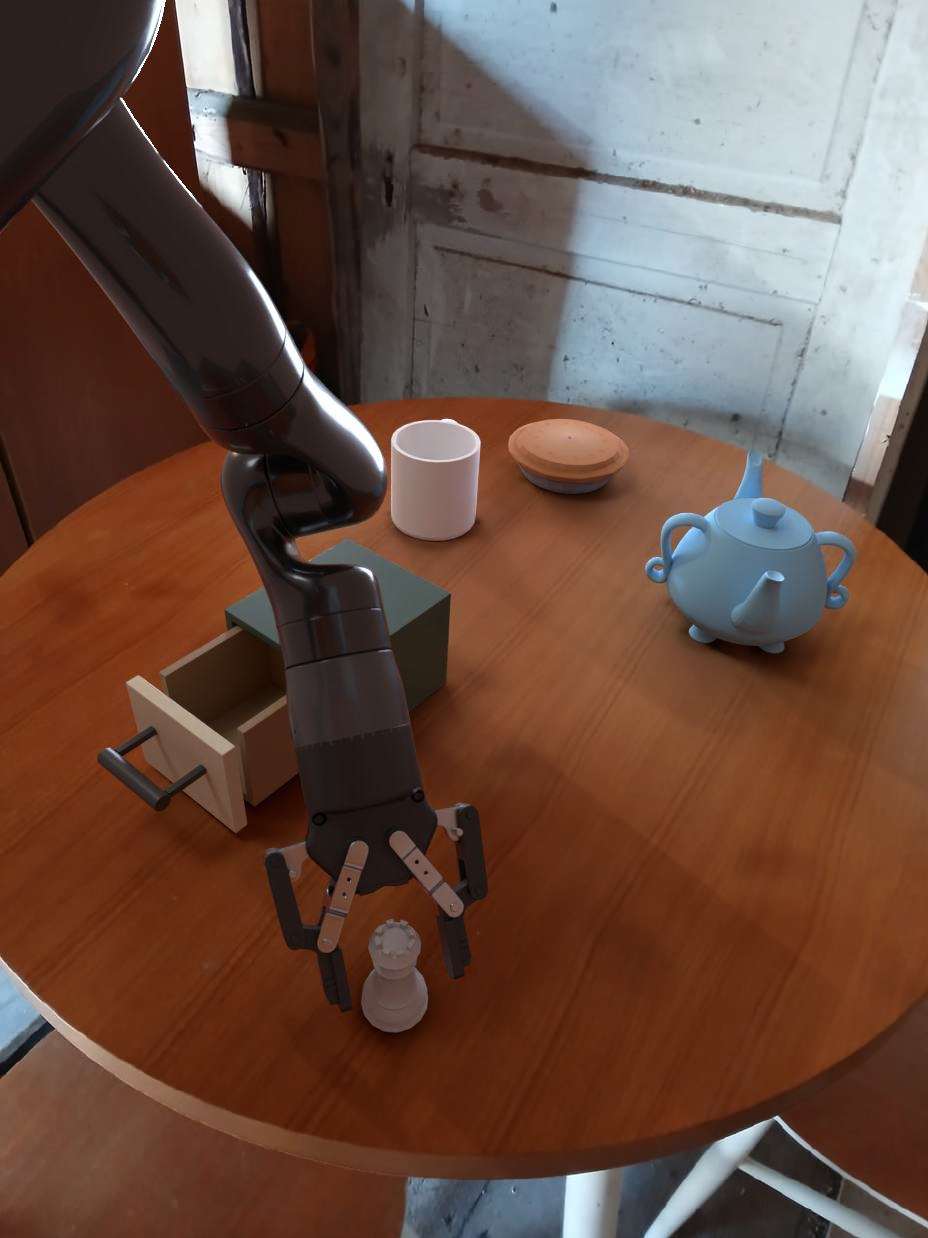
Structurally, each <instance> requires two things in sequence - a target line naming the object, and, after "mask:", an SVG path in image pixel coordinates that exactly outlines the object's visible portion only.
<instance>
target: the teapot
mask: <svg viewBox="0 0 928 1238" xmlns="http://www.w3.org/2000/svg"><path fill="white" fill-rule="evenodd" d="M763 469H764V460H763V456H762V454H761V452H760V451H759V450H758V449H755V448H752V449H750V450H749V451H748V453H747V457H746V465H745V471H744V474H743V477H742V480H741V483H740V485H739V487H738V489H737V492H736V493H735V494H734V495H735V496H734V497H733V499H731V500H728V501H725V502H723V503H721V504H720V505H718V506H717V507H715V508H714V509H712V510H711V511H710V512H708V513H707V514H706V515H705V516H702V515H700V514H697V513H694V512H682V513H677V514H674V515H673V516H670V517H669V518H668V519H667V520H666V521H665V522H664V524H663V526H662V528H661V532H660V541H659V542H660V552H661V557H659V556H654V557H652V558H650V559H649V560H648V561H647V562H646V564H645V567H644V573H645V575H646V577H647V578H648V579H649V580H650V581H652V582H653V583H655V584H664V583H666V587H667V592H668V595H669V597H670V599H671V600H672V602H673V604H674V605H675V606H676V608H677V609H678V610H679V612H680V613H681V614H682V615H683V616H684V618H686V620H687V621H688V622H690V623H691V624H692V626H690V628H689V629H688V634H689V637H691V638H692V639H693V640H694V641H696V642H698V643H704V644H709V643H713V642H714V641H716V639H719V640H722V641H725V642H728V643H731V644H737V645H742V646H751V647H758V648H759V649H761V650H763V651H764V652H766V653H771V654H779V653H782V652H783V651H784V650H785V643H786V642H788V641H791V640H793V639H796V638H798V637H801V636H803V635H804V634H806V633H807V632H809V631H811V629H812V628H813V627H815V626H816V625H817V624H818V623H819V621H820V619H821V618H822V615H823V613H824V610H825V609H828V610H838V609H841V608H844V607H845V606H846V605H847V603H848V602H849V598H850V593H849V590H848V588H847V587H846V586H844V585H841V583H842V582H843V581H844V580H845V579H846V577H848V575H849V573H850V572H851V570H852V569H853V567H854V565H855V562H856V559H857V551H856V547H855V544H854V543H853V542H852V541H851V540H850V539H849V538H848V537H846V536H845V535H844V534H841V533H840V532H835V531H818V532H817V533H815V530H814V528H813V526H812V525H811V523H810V522H809V520H807V519H806V517H804V516H803V514H801V513H800V512H798V511H796V510H795V509H793V508H792V507H790V506H787V505H785V504H783V503H782V502H781V501H778V500H776V499H774V498H768V497H763V472H764V471H763ZM679 527H691V528H690V529H689V530H688V531H687V532H686V533H685V535H684V536H682V539H681V540H680V541H679V543H678V544H677V546H676V548H675V549H674V551H673V553H672V545H671V537H672V533H673V531H674V530H675V529H677V528H679ZM821 546H834V547H837V548H839V549H841V550H843V551H844V555H843V558H842V560H841V561H840V563H839V564H838V566H837V567H836V568H835V570H834V571H833V572H832V574H831V575H830V576H829V577H828V572H827V565H826V561H825V558H824V557H825V556H824V554H823V552H822V549H821ZM657 566H660V567H662V569H661V570H658V569H656V568H654V567H657ZM832 594H835V595H836V596H832ZM837 595H838V596H837Z"/></svg>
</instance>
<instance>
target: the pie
mask: <svg viewBox="0 0 928 1238" xmlns="http://www.w3.org/2000/svg"><path fill="white" fill-rule="evenodd" d="M507 443H508V444H507V446H508V450H509V455H510V456H511V457H512V458H513V459H514V461H515V462H516V463H517V465H518V467H519V469H520V470H521V473H522V475H523V476H524V477H525V478H526V479H527V480H528V481H529V482H530V483H532V484H534V485H535V486H536V487H539V488H541V489H544V490H545V491H548V492H552V493H553V492H554V493H558V494H567V495H577V494H578V495H579V494H587V493H590V492H594V491H597V490H598V489H600V488H602V487H604V486H605V485H606V484H607V483H608V482H609V481H610V480H611V479H612V478H613V477H614V476H615V474H617V473H619V472H620V471H621V470H622V469H623V468H624V467H625V465H626V464H627V462H628V461H629V455H630V450H629V448H628V447H627V445H626V443H625V442H624V441H623V440H622V439H621V438H620V437H619V436H617V435H616V434H614V433H613V432H611V431H609V430H608V429H606V428H604V427H601V426H599V425H596V424H593V423H590V422H587V421H584V420H583V421H582V420H579V419H578V420H577V419H573V418H572V419H571V418H554V419H553V418H551V419H543V420H539V421H535V422H531V423H528V424H527V423H526V424H525V425H522V426H520V427H518V428H516V430H515V431H514V432H513V433H512V434H511V435H510V436H509V439H508V442H507Z"/></svg>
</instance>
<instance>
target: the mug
mask: <svg viewBox="0 0 928 1238" xmlns="http://www.w3.org/2000/svg"><path fill="white" fill-rule="evenodd" d="M390 443H391V444H390V459H391V460H390V476H391V477H390V484H391V485H390V486H391V488H390V497H391V498H390V499H391V500H390V517H391V521H392V523H393V524H394V526H395V527H396V528H397V530H399V531H400V532H401V533H403V534H404V535H407V536H409V537H411V538H414V539H417V540H421V541H429V542H439V541H449V540H453V539H457V538H459V537H461V536H464V535H465V534H466V533H468V532H469V531H470V530H471V529H472V528H473V526H474V525H475V521H476V514H477V502H478V499H477V498H478V489H479V488H478V485H479V471H480V458H481V457H480V456H481V455H480V454H481V439H480V436H479V435H478V434H477V433H476V432H475V431H474V430H473V429H471V428H470V427H467V426H465V425H463V424H460V423H458V422H457V421H455V420H454V419H450V418H443V419H441V420H439V419H429V420H428V419H427V420H425V419H424V420H419V421H413V422H409V423H407V424H404V425H402V426H400V427H398V428H397V429H396V430H395V431H394V432H393V433H392V436H391V439H390Z"/></svg>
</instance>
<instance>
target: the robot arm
mask: <svg viewBox="0 0 928 1238" xmlns="http://www.w3.org/2000/svg"><path fill="white" fill-rule="evenodd" d="M165 2H166V0H0V236H1V235H2V234H3V232H5V230H6V229H7V228H8V227H9V225H10V224H11V223H12V222H13V221H14V220H15V219H16V217H18V216H19V214H21V212H22V211H23V210H24V208H26V207H27V205H28V204H29V203H30V202H32V203H33V204H34V205H35V207H36V208H37V209H38V210H39V212H40V213H41V214H42V215H43V216H44V217H45V219H46V220H47V221H48V222H49V224H51V226H52V227H53V228H54V229H55V231H57V233H58V234H59V235H60V237H61V238H62V239H63V241H64V242H65V243H66V244H67V246H68V247H69V249H71V251H72V252H73V253H74V255H75V256H76V257H77V258H78V259H79V261H80V262H81V263H82V265H83V266H84V267H85V269H86V270H87V271H88V273H89V274H90V275H91V276H92V278H93V279H94V281H96V283H97V284H98V286H99V287H100V288H101V290H102V291H103V292H104V294H105V295H106V296H107V298H108V299H109V300H110V302H111V303H112V304H113V306H114V307H115V309H116V310H117V311H118V313H119V314H120V315H121V317H122V318H123V319H124V321H125V322H126V324H127V325H128V326H129V328H130V329H131V330H132V332H133V333H134V334H135V336H136V337H137V339H138V340H139V342H140V343H141V345H142V346H143V347H144V349H145V350H146V351H147V353H148V354H149V356H150V357H151V358H152V360H153V362H154V363H155V364H156V366H157V367H158V368H159V370H160V371H161V373H162V374H163V376H164V378H165V379H166V381H167V382H168V383H169V385H170V386H171V387H172V389H173V390H174V392H175V393H176V394H177V396H178V397H179V399H180V400H181V402H182V403H183V404H184V406H185V408H186V409H187V410H188V411H189V413H190V414H191V415H192V417H193V418H194V420H195V422H196V423H197V424H198V425H199V427H200V428H201V429H202V431H203V432H204V433H205V435H206V436H207V437H208V438H209V439H210V440H211V441H212V442H213V443H214V444H215V445H217V446H218V447H220V448H222V449H224V450H226V451H227V453H226V455H225V457H224V459H223V462H222V466H221V469H220V479H219V480H220V490H221V491H220V492H221V496H222V499H223V502H224V504H225V507H226V509H227V512H228V515H229V516H230V518H231V520H232V522H233V524H234V526H235V528H236V530H237V532H238V534H239V536H240V538H241V539H242V541H243V543H244V545H245V547H246V550H247V551H248V553H249V555H250V557H251V560H252V561H253V564H254V566H255V568H256V570H257V573H258V575H259V577H260V580H261V582H262V585H263V587H264V588H265V590H266V593H267V596H268V598H269V601H270V604H271V607H272V610H273V614H274V618H275V624H276V628H277V633H278V638H279V643H280V649H281V654H282V660H283V665H284V669H287V670H285V679H286V699H287V709H288V715H289V720H290V726H289V730H290V735H291V737H292V739H293V742H294V748H295V753H296V759H297V764H298V769H299V773H298V774H299V779H300V785H301V791H302V796H303V801H304V807H305V811H306V817H307V829H306V834H305V837H304V841H301V842H297V843H294V844H292V845H288V846H285V847H282V848H277V847H269V848H267V849H266V850H265V851H264V852H263V855H262V861H263V862H262V863H263V867H264V869H265V874H266V877H267V880H268V885H269V889H270V891H271V896H272V898H273V899H272V900H273V903H274V907H275V911H276V914H277V919H278V923H279V926H280V929H281V933H282V936H283V939H284V942H285V944H286V947H287V948H288V949H289V950H292V951H299V950H307V951H312V952H314V953H315V954H316V957H317V962H318V967H319V973H320V979H321V983H322V990H323V994H324V995H325V997H326V1000H327V1001H328V1003H329V1004H330V1006H335V1005H337V1007H338V1009H339V1012H340V1014H342V1013H346V1012H349V1011H352V1010H353V1003H352V997H351V992H350V987H349V981H348V975H347V969H346V965H345V959H344V953H343V950H342V948H341V947H340V945H339V939H340V937H341V933H342V930H343V926H344V924H345V920H346V918H347V916H348V915H349V913H350V910H351V906H352V904H353V900H354V897H355V895H359V896H360V897H363V896H367V895H370V894H373V893H375V892H377V891H379V890H380V889H382V888H384V887H401V886H405V885H408V884H410V881H411V880H412V879H413V880H414V881H415V883H416V884H417V885H418V886H419V887H420V888H421V889H422V890H423V891H424V892H425V894H426V895H427V896H428V897H429V898H430V900H431V901H432V902H433V903H434V904H435V906H436V907H437V909H438V914H436V915H435V920H436V925H437V929H438V936H439V941H440V947H441V952H442V956H443V962H444V965H445V966H444V967H445V970H446V973H447V974H448V976H449V977H450V978H451V979H452V980H454V981H455V980H458V979H461V978H464V977H465V976H466V974H465V967H468V966H470V965H471V959H472V954H471V949H470V943H469V940H468V934H467V929H466V924H465V918H464V917H465V916H464V915H465V912H466V910H467V909H468V908H469V907H470V906H471V905H472V904H474V903H475V902H477V901H483V900H484V899H485V898H487V896H488V894H489V885H488V877H487V876H488V875H487V868H486V860H485V853H484V852H485V851H484V843H483V837H482V828H481V820H480V813H479V810H478V808H477V807H475V806H473V805H471V804H468V803H465V802H458V803H456V804H454V805H453V806H451V807H445V808H439V809H434V808H433V807H432V805H430V803H429V801H428V799H427V797H426V794H425V788H424V783H423V779H422V773H421V768H420V763H419V758H418V752H417V748H416V743H415V738H414V733H413V728H412V723H411V718H410V712H408V707H407V702H406V696H405V691H404V687H403V683H402V679H401V676H400V673H399V670H398V667H397V665H396V661H395V658H394V654H393V651H392V650H390V649H391V648H392V645H391V640H390V635H389V630H388V625H387V620H386V614H385V610H384V605H383V599H382V594H381V590H380V586H379V583H378V580H377V577H376V575H375V574H374V572H373V571H372V570H371V569H369V568H368V567H365V566H363V565H359V564H315V563H309V562H307V561H308V560H306V559H305V558H304V557H303V555H302V554H301V552H300V550H299V548H298V546H297V542H296V539H299V538H304V537H309V536H312V535H316V534H321V533H325V532H329V531H334V530H339V529H343V528H347V527H353V526H356V525H359V524H361V523H364V522H367V521H368V520H370V519H371V518H373V517H374V516H375V515H376V514H377V513H378V512H379V511H380V509H381V507H382V505H383V504H384V501H385V499H386V496H387V493H388V488H389V485H388V484H389V475H388V467H387V464H386V461H385V457H384V454H383V453H382V450H381V448H380V446H379V444H378V443H377V440H376V438H375V436H373V435H372V433H371V431H370V430H369V429H368V427H367V426H366V424H365V423H363V421H362V420H361V419H360V418H359V417H358V416H357V415H356V413H354V412H353V411H352V410H351V409H350V408H349V407H348V406H347V405H346V404H345V403H344V402H342V400H341V399H339V397H337V396H336V395H335V394H334V393H333V392H332V391H331V390H329V388H328V387H326V385H325V384H324V383H323V382H322V381H321V380H320V379H319V378H318V377H317V376H316V375H315V374H314V373H313V372H312V371H311V370H310V369H309V367H308V365H307V364H306V362H305V360H304V358H303V356H302V354H301V353H300V350H299V348H298V346H297V344H296V343H295V341H294V338H293V337H292V335H291V333H290V331H289V329H288V326H287V325H286V323H285V321H284V319H283V316H282V315H281V313H280V311H279V309H278V307H277V306H276V304H275V301H274V300H273V299H272V297H271V295H270V293H269V292H268V289H266V287H265V285H264V284H263V282H262V281H261V280H260V278H259V276H258V275H257V274H256V272H255V271H254V269H253V268H252V267H251V264H249V262H248V261H247V260H246V259H245V257H244V256H243V255H242V253H240V251H239V250H238V248H237V246H235V244H234V243H233V242H232V241H231V240H230V239H229V237H228V236H227V235H226V233H225V232H224V231H223V230H222V228H220V227H219V225H218V224H217V223H216V221H214V219H213V218H212V217H211V216H210V215H209V213H208V212H207V211H206V210H205V209H204V207H203V206H202V205H201V204H200V203H199V202H198V201H197V199H196V198H195V197H194V196H193V194H192V193H191V192H190V191H189V190H188V189H187V188H186V186H185V185H184V184H183V183H182V181H181V180H180V179H179V178H178V176H177V175H176V174H175V173H174V171H173V170H172V169H171V168H170V167H169V165H168V164H167V163H166V161H165V160H164V159H163V158H162V156H161V155H160V154H159V152H158V151H157V149H156V148H155V147H154V145H153V144H152V142H151V140H150V139H149V138H148V136H147V135H146V134H145V132H144V130H143V129H142V127H140V125H139V123H138V122H137V120H136V119H135V118H134V116H133V114H132V113H131V111H130V109H129V108H128V107H127V105H126V103H125V101H124V100H123V98H122V97H123V96H124V95H125V94H126V92H127V91H128V89H129V88H130V87H131V86H132V84H133V82H134V81H135V79H136V78H137V76H138V74H139V73H140V71H141V68H142V67H143V65H144V63H145V61H146V59H147V58H148V56H149V54H150V52H151V50H152V47H153V45H154V42H155V40H156V37H157V35H158V34H157V33H158V31H159V27H160V24H161V21H162V17H163V13H164V7H165ZM438 826H440V827H441V828H442V829H443V831H444V835H445V837H447V838H448V839H450V840H452V841H454V844H455V845H454V846H455V847H454V848H455V853H456V854H455V855H456V863H457V870H458V871H457V872H458V879H459V882H458V883H456V884H455V885H453V886H452V887H451V886H450V885H449V884H448V883H447V881H445V879H444V877H443V876H442V875H441V873H439V871H438V870H437V869H436V868H435V867H434V865H433V864H432V863H431V862H430V861H429V859H428V858H427V857H426V854H427V852H428V849H429V848H430V844H431V842H432V840H433V838H434V835H435V833H436V830H437V828H438ZM306 859H310V860H311V861H313V863H314V864H316V865H317V866H318V867H319V868H320V869H321V870H322V871H323V872H325V873H326V874H327V875H328V876H329V877H328V881H327V884H326V887H325V890H324V893H323V897H322V901H321V907H320V910H319V913H318V916H317V920H316V922H315V924H307V923H303V922H302V918H301V917H302V916H301V914H300V910H299V907H298V903H297V899H296V896H295V892H294V888H293V884H292V883H295V882H297V881H299V880H300V878H301V876H302V864H303V862H305V860H306Z"/></svg>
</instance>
